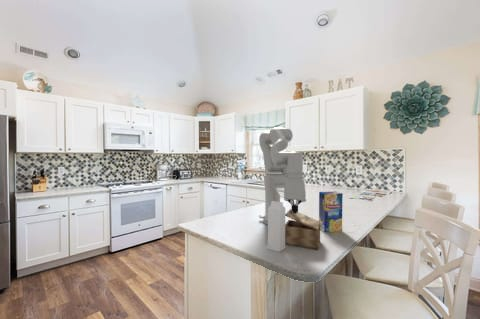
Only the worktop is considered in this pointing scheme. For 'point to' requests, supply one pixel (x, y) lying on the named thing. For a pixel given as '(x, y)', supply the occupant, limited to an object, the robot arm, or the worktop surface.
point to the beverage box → (330, 211)
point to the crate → (301, 235)
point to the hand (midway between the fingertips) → (294, 212)
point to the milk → (276, 226)
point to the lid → (303, 219)
